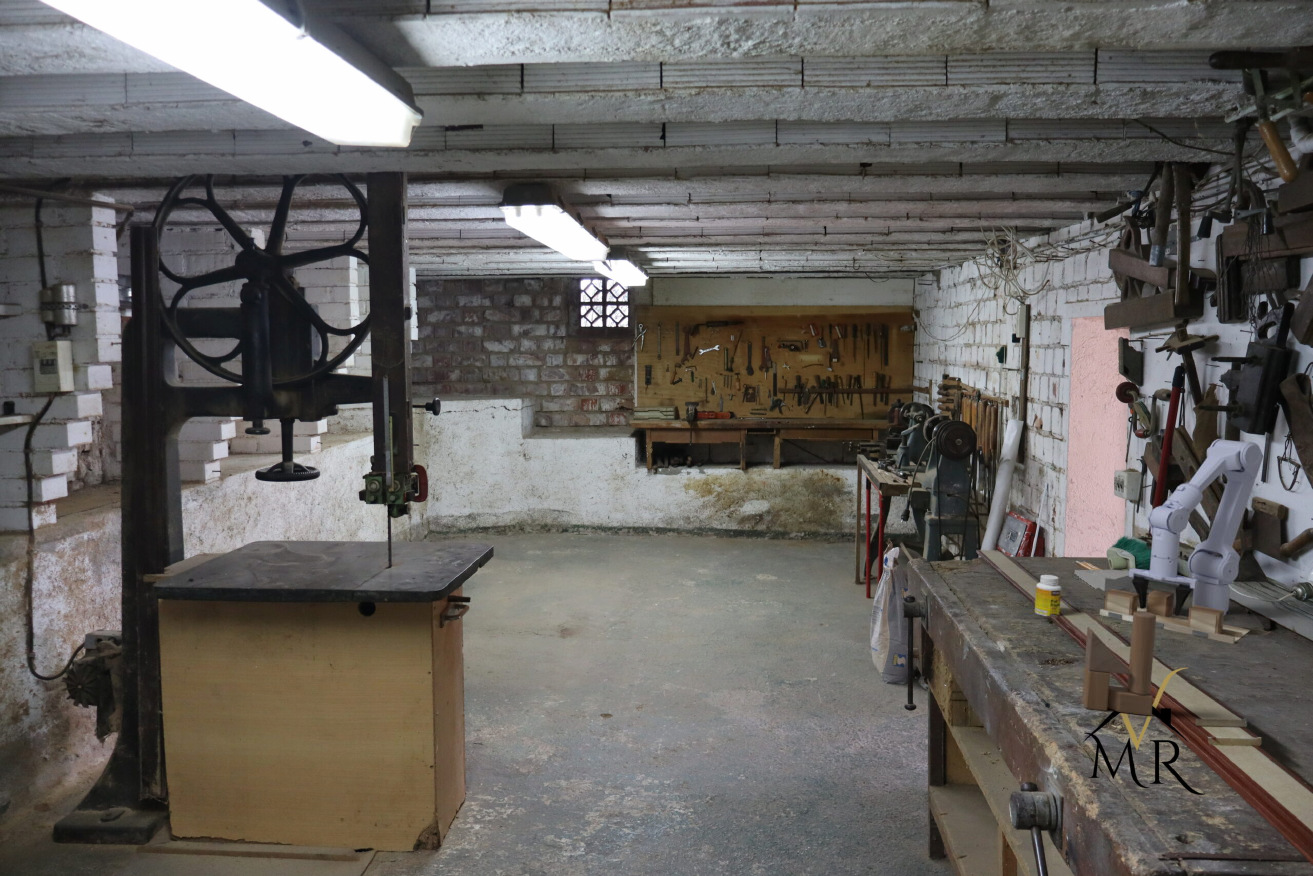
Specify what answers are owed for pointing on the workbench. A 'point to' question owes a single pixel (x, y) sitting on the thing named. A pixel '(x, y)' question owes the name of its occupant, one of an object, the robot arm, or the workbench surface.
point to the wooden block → (1121, 670)
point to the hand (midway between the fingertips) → (1159, 611)
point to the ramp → (1107, 579)
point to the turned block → (1160, 603)
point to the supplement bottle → (1048, 596)
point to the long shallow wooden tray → (1184, 626)
